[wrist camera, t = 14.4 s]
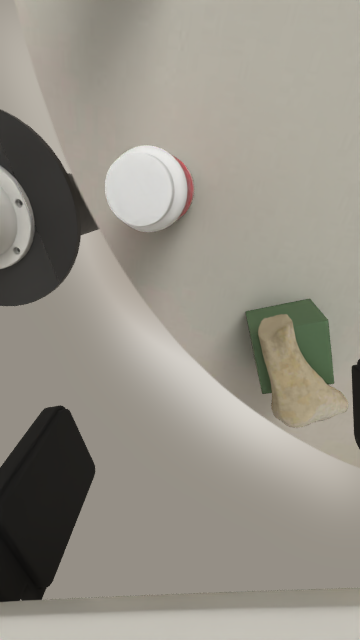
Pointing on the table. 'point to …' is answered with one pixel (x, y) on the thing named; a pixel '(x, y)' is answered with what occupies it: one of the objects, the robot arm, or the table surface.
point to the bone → (295, 378)
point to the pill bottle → (148, 188)
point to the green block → (308, 335)
